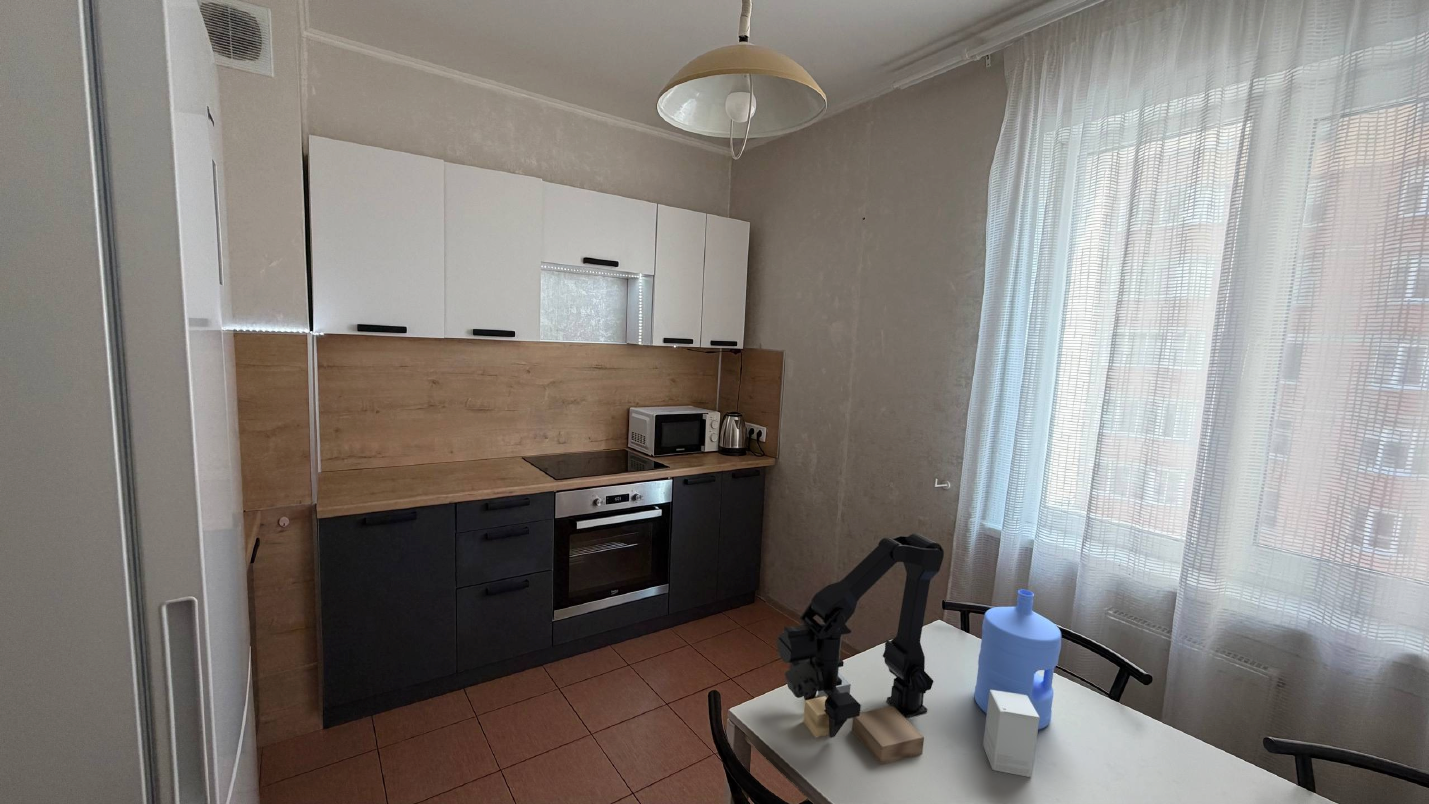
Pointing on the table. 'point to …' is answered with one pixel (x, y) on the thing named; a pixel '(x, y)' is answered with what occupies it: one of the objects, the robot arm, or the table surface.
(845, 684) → the grey cube
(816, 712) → the oak cube
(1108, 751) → the table surface
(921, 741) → the walnut block
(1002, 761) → the supplement box
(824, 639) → the robot arm
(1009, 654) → the water jug
